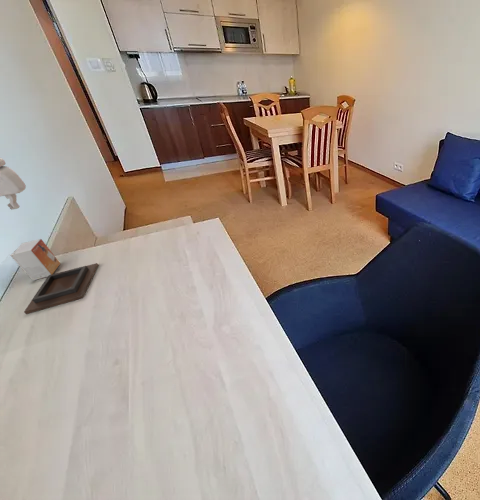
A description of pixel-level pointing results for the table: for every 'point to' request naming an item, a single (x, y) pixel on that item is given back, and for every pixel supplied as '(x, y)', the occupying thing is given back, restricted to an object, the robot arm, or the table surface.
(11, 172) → the robot arm
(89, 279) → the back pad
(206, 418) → the table surface
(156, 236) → the table surface
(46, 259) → the small box
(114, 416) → the table surface
